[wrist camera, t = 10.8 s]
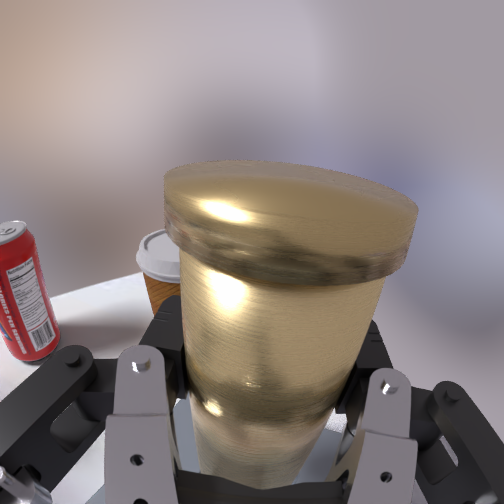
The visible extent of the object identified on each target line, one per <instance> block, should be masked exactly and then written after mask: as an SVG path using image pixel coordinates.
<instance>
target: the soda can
mask: <svg viewBox="0 0 504 504" xmlns="http://www.w3.org/2000/svg"><path fill="white" fill-rule="evenodd" d="M0 332H1V335H2V337H3V339H4V341H5V343H6V345H7V347H8V349H9V351H10V352H11V354H12V355H13V356H14V357H15V358H17V359H19V360H22V361H36V360H39V359H42V358H44V357H46V356H47V355H49V354H50V353H51V352H52V351H53V350H54V349H55V348H56V346H57V345H58V343H59V340H60V330H59V327H58V324H57V321H56V318H55V315H54V312H53V308H52V305H51V302H50V299H49V295H48V292H47V288H46V285H45V281H44V277H43V273H42V270H41V265H40V261H39V257H38V252H37V248H36V243H35V238H34V236H33V235H32V234H31V233H30V232H29V231H28V230H27V227H26V223H25V222H23V221H9V222H4V223H0Z"/></svg>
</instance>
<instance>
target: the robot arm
mask: <svg viewBox="0 0 504 504" xmlns="http://www.w3.org/2000/svg"><path fill="white" fill-rule="evenodd" d="M188 391H189V389H188V380H187V370H186V360H185V349H184V336H183V323H182V307H181V296H178V295H171V296H170V297H168V298H167V299H166V300H164V301H163V302H162V304H161V306H160V307H159V309H158V312H157V313H156V314H155V316H154V319H153V320H152V321H151V323H150V325H149V327H148V328H147V330H146V332H145V334H144V336H143V337H142V339H141V341H140V343H139V345H136V346H132V347H130V348H128V349H126V350H125V351H123V352H122V353H121V355H120V356H119V358H117V359H93V356H92V353H91V352H90V351H89V350H88V349H87V348H85V347H83V346H79V345H72V346H67V347H65V348H63V349H61V350H59V351H58V352H57V353H56V354H55V355H53V356H52V357H51V358H50V359H49V360H48V361H46V362H45V363H44V364H43V365H42V366H41V367H39V368H38V369H37V370H36V371H35V372H34V373H32V374H31V375H30V376H29V377H28V378H27V379H26V380H24V381H23V382H22V383H21V384H20V385H19V386H18V387H17V388H15V389H14V390H13V391H12V392H11V393H10V394H9V395H8V396H7V397H5V398H4V399H3V400H2V401H1V402H0V504H52V497H51V495H50V493H51V492H52V490H53V489H54V488H55V487H56V486H57V485H58V483H59V482H60V481H61V480H62V479H63V478H64V476H65V475H66V474H67V473H68V472H69V471H70V469H71V468H72V467H73V466H74V465H75V464H76V462H77V461H78V460H79V459H80V458H81V457H82V455H83V454H84V453H85V452H86V451H87V450H88V448H89V447H90V446H91V445H92V444H93V443H94V441H95V440H96V439H97V438H98V437H99V436H100V434H101V433H102V432H103V431H104V430H105V455H104V479H105V504H411V499H412V493H413V486H414V479H416V481H417V483H418V485H419V487H420V489H421V491H422V493H423V494H424V496H425V498H426V500H427V502H428V504H504V444H503V442H502V441H501V439H500V438H499V436H498V435H497V434H496V432H495V431H494V429H493V428H492V427H491V425H490V424H489V422H488V421H487V420H486V418H485V417H484V415H483V414H482V413H481V411H480V410H479V409H478V407H477V406H476V405H475V403H474V402H473V401H472V400H471V398H470V397H469V396H468V394H467V393H466V392H465V390H464V389H463V388H462V387H461V386H459V385H458V384H456V383H454V382H451V381H442V382H440V383H438V384H437V385H436V386H435V388H434V389H433V391H430V390H425V389H420V388H416V387H412V386H411V384H410V381H409V380H408V378H407V377H406V376H405V375H404V374H403V373H401V372H400V371H398V370H395V369H393V366H392V363H391V361H390V358H389V355H388V353H387V350H386V347H385V345H384V343H383V340H382V337H381V335H380V332H379V330H378V327H377V325H376V323H375V322H374V321H373V320H371V323H370V325H369V328H368V331H367V333H366V336H365V339H364V341H363V344H362V346H361V349H360V351H359V354H358V356H357V359H356V361H355V363H354V366H353V368H352V370H351V373H350V375H349V377H348V380H347V382H346V384H345V386H344V388H343V391H342V393H341V395H340V397H339V399H338V401H337V403H336V405H335V412H336V414H346V417H347V421H346V423H345V424H344V426H343V429H342V433H341V437H340V440H339V443H338V447H337V450H336V453H335V457H334V460H333V463H332V466H331V469H330V471H329V474H328V475H327V477H326V479H325V481H324V482H302V483H298V484H293V485H288V486H283V487H277V488H271V489H264V490H260V489H256V488H252V487H249V486H246V485H243V484H240V483H237V482H234V481H231V480H228V479H225V478H222V477H220V476H213V475H207V474H201V473H196V472H190V471H185V470H182V466H181V461H180V456H179V449H178V442H177V435H176V427H175V419H174V411H173V408H174V405H175V402H176V399H177V398H180V399H185V400H186V398H187V394H188ZM71 403H72V404H71ZM70 404H71V405H70ZM69 405H70V406H69ZM68 406H69V407H68ZM67 407H68V408H67ZM66 408H67V409H66ZM65 409H66V410H65ZM64 410H65V411H64ZM63 411H64V412H63ZM62 412H63V413H62ZM61 413H62V414H61ZM60 414H61V415H60ZM59 415H60V416H59ZM58 416H59V417H58ZM57 417H58V418H57ZM56 418H57V419H56ZM55 419H56V420H55ZM54 420H55V421H54ZM443 435H444V437H445V438H446V440H447V441H448V443H449V445H450V446H451V448H452V449H453V451H454V453H455V454H456V456H457V458H458V467H457V466H456V465H455V464H454V462H453V461H452V459H451V457H450V456H449V454H448V452H447V451H446V449H445V448H444V446H443V444H442V443H441V441H440V440H439V439H440V438H441V437H442V436H443Z"/></svg>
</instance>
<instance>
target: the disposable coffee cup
mask: <svg viewBox="0 0 504 504" xmlns="http://www.w3.org/2000/svg"><path fill="white" fill-rule="evenodd" d="M136 260H137V263H138V265H139V266H140V268H141V270H142V271H143V275H144V279H145V283H146V287H147V291H148V295H149V299H150V303H151V306H152V310H153V314H154V316H155V314H156V313H157V312H158V309H159V307H160V306H161V304H162V302H163V301H164V300H166V299H167V298H168V297H170V296H171V295H178V296H181V288H180V263H179V247H178V246H177V245H175V244H174V243H173V242H172V241H171V239H170V238H169V237H168V235H167V233H166V231H165V229H162V230H158V231H155V232H153V233H150V234H149V235H147V236H146V237H144V238H143V239H142V241H141V242H140V247H139V250H138V252H137V255H136Z"/></svg>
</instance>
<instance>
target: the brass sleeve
mask: <svg viewBox="0 0 504 504" xmlns="http://www.w3.org/2000/svg"><path fill="white" fill-rule="evenodd" d="M417 215H418V207H417V205H416V204H415V203H414V202H413V201H412V200H411V199H409V198H408V197H406V196H405V195H403V194H401V193H399V192H397V191H395V190H393V189H391V188H389V187H386V186H384V185H382V184H379V183H376V182H373V181H370V180H367V179H364V178H361V177H357V176H353V175H350V174H346V173H342V172H337V171H333V170H328V169H323V168H318V167H312V166H306V165H298V164H290V163H281V162H271V161H253V160H223V161H207V162H199V163H192V164H187V165H183V166H179V167H176V168H174V169H172V170H169V171H168V172H167V173H166V174H165V175H164V222H165V231H166V233H167V235H168V237H169V238H170V239H171V241H172V242H173V243H174V244H175V245H177V246H178V247H179V263H180V288H181V307H182V323H183V336H184V349H185V360H186V370H187V380H188V389H189V398H190V406H191V414H192V421H193V429H194V436H195V442H196V449H197V455H198V461H199V467H200V471H201V474H207V475H213V476H220V477H222V478H225V479H228V480H231V481H234V482H237V483H240V484H243V485H246V486H249V487H252V488H256V489H260V490H264V489H271V488H277V487H283V486H288V485H291V484H292V483H293V481H294V480H295V478H296V476H297V475H298V473H299V472H300V470H301V468H302V467H303V465H304V463H305V461H306V460H307V458H308V456H309V455H310V453H311V451H312V449H313V448H314V446H315V444H316V442H317V440H318V438H319V437H320V435H321V433H322V431H323V429H324V427H325V425H326V423H327V421H328V419H329V418H330V416H331V414H332V412H333V409H334V407H335V405H336V403H337V401H338V399H339V397H340V395H341V393H342V391H343V388H344V386H345V384H346V382H347V380H348V377H349V375H350V373H351V370H352V368H353V366H354V363H355V361H356V359H357V356H358V354H359V351H360V349H361V346H362V344H363V341H364V339H365V336H366V333H367V331H368V328H369V325H370V323H371V320H372V317H373V314H374V311H375V309H376V306H377V303H378V300H379V297H380V294H381V290H382V288H383V284H384V281H385V278H386V276H388V275H390V274H392V273H394V272H395V271H397V270H398V269H399V268H400V267H401V266H402V265H403V264H404V262H405V259H406V256H407V253H408V249H409V246H410V242H411V238H412V235H413V231H414V226H415V223H416V219H417Z"/></svg>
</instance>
